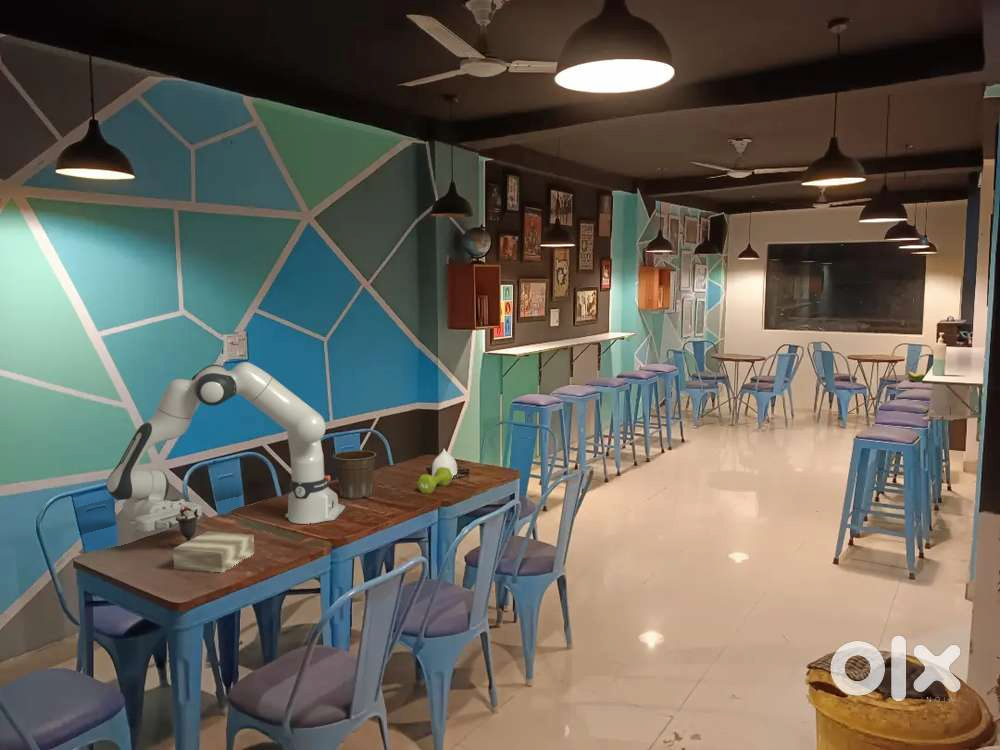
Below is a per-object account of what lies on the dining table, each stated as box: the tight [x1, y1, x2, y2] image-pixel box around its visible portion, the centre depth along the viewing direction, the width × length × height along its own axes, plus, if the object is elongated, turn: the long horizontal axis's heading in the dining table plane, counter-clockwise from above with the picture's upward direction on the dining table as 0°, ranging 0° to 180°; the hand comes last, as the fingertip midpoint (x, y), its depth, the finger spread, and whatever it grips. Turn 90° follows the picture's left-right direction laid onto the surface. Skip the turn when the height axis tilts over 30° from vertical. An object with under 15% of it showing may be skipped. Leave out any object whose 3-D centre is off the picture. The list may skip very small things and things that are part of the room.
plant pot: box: [333, 450, 377, 500], centre depth 291 cm, size 16×16×16 cm
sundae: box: [176, 503, 200, 542], centre depth 233 cm, size 7×7×15 cm
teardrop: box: [431, 448, 458, 477], centre depth 320 cm, size 11×11×12 cm
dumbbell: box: [416, 467, 453, 495], centre depth 299 cm, size 16×8×7 cm, turn 153°
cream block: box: [172, 530, 255, 574], centre depth 222 cm, size 16×16×6 cm
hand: (183, 521), depth 234 cm, fingers open, 8 cm apart
